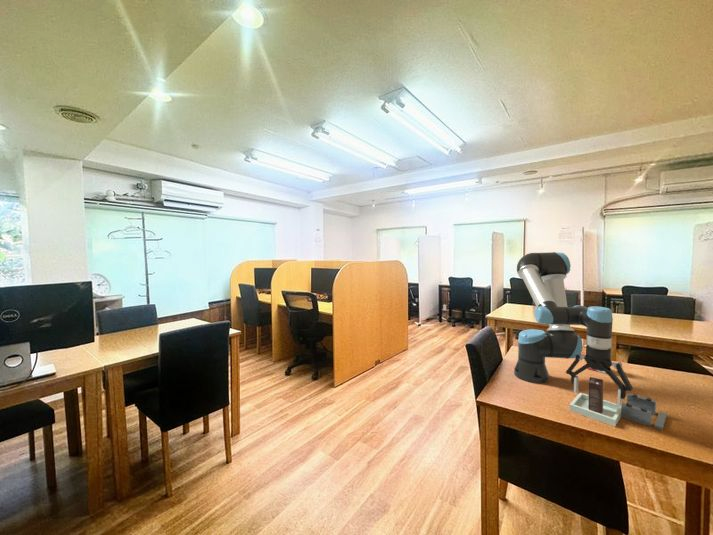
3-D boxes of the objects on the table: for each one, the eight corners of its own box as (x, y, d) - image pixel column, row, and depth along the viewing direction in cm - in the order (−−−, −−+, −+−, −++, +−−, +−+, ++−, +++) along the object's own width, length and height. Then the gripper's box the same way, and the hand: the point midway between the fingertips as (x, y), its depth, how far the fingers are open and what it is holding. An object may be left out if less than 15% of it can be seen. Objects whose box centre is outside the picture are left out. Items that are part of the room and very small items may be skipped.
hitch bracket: (620, 416, 111) (621, 402, 110) (627, 404, 119) (628, 391, 118) (662, 430, 102) (663, 415, 102) (666, 416, 110) (667, 402, 110)
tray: (569, 410, 116) (569, 404, 116) (579, 398, 125) (580, 392, 124) (615, 426, 105) (615, 420, 105) (623, 412, 114) (623, 406, 113)
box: (588, 404, 119) (589, 376, 118) (603, 408, 115) (604, 379, 115) (587, 410, 114) (588, 381, 113) (601, 415, 111) (603, 385, 110)
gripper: (557, 341, 120) (556, 389, 122) (641, 358, 101) (638, 416, 102) (564, 337, 125) (562, 384, 126) (644, 352, 105) (641, 408, 107)
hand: (596, 398), depth 114 cm, fingers open, 13 cm apart
